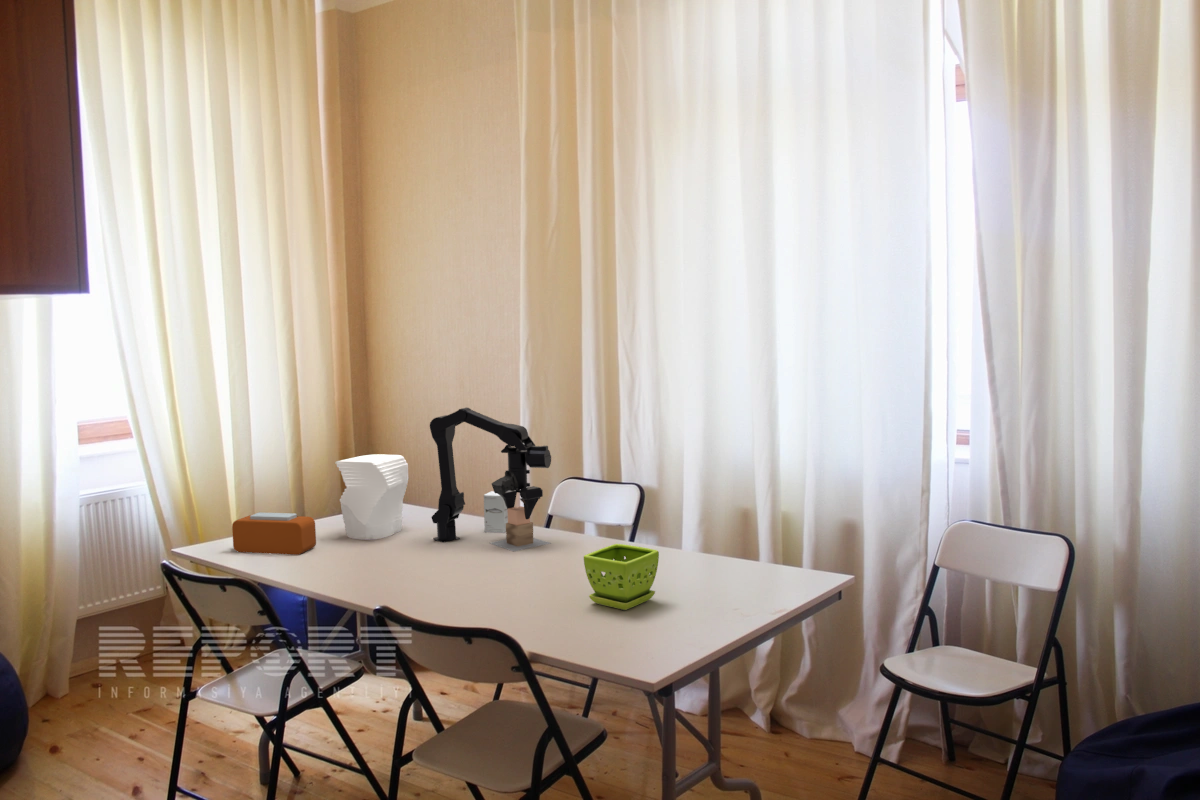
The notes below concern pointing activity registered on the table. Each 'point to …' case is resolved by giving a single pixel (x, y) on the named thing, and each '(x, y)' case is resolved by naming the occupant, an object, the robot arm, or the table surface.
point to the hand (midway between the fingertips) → (519, 516)
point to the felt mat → (514, 548)
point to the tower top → (519, 529)
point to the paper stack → (373, 495)
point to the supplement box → (495, 513)
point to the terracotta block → (517, 516)
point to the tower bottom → (519, 539)
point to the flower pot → (621, 575)
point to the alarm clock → (274, 533)
